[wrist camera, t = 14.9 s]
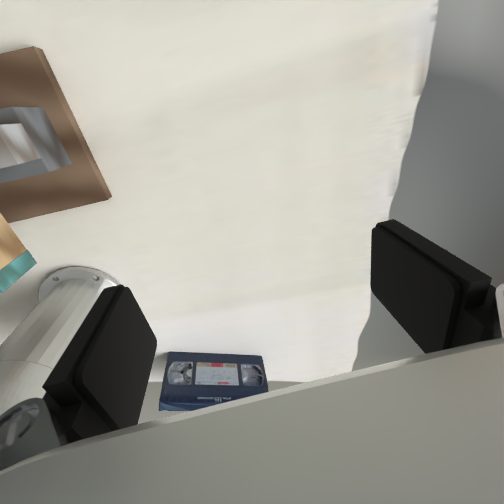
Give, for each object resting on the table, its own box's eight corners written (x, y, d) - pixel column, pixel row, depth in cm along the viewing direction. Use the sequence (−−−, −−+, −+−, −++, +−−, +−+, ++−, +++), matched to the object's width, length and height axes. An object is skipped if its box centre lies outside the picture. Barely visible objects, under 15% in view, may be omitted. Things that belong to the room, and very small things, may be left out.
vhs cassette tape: (262, 354, 53) (272, 402, 45) (259, 365, 55) (267, 413, 46) (168, 348, 49) (158, 399, 41) (167, 360, 51) (157, 411, 42)
